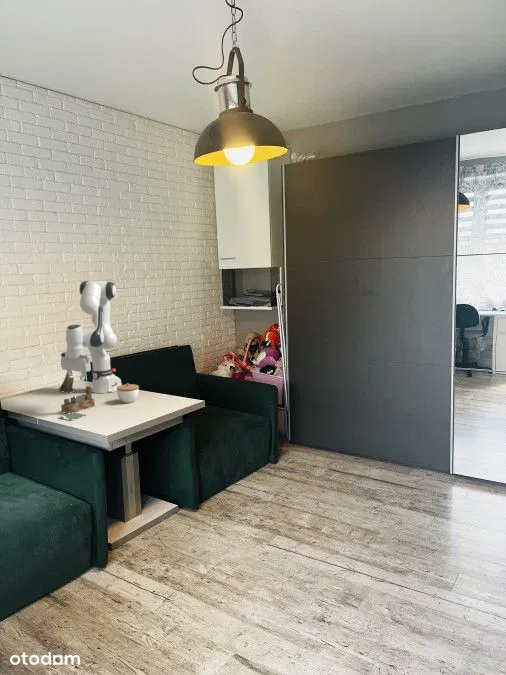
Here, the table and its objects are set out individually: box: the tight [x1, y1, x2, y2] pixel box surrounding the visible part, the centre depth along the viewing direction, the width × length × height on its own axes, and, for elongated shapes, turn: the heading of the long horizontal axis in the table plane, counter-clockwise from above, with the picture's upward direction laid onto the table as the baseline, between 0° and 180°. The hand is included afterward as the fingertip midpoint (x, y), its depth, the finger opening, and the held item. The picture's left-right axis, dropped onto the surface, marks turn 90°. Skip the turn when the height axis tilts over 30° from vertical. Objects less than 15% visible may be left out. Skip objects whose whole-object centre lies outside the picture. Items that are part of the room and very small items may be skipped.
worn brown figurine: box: [58, 371, 76, 393], centre depth 321 cm, size 12×6×18 cm, turn 56°
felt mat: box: [59, 412, 87, 421], centre depth 265 cm, size 10×10×1 cm
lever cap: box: [69, 394, 85, 404], centre depth 279 cm, size 7×4×4 cm, turn 150°
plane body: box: [60, 385, 95, 414], centre depth 279 cm, size 18×6×12 cm, turn 150°
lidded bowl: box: [116, 382, 140, 404], centre depth 295 cm, size 13×13×11 cm
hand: (76, 378), depth 278 cm, fingers open, 8 cm apart
